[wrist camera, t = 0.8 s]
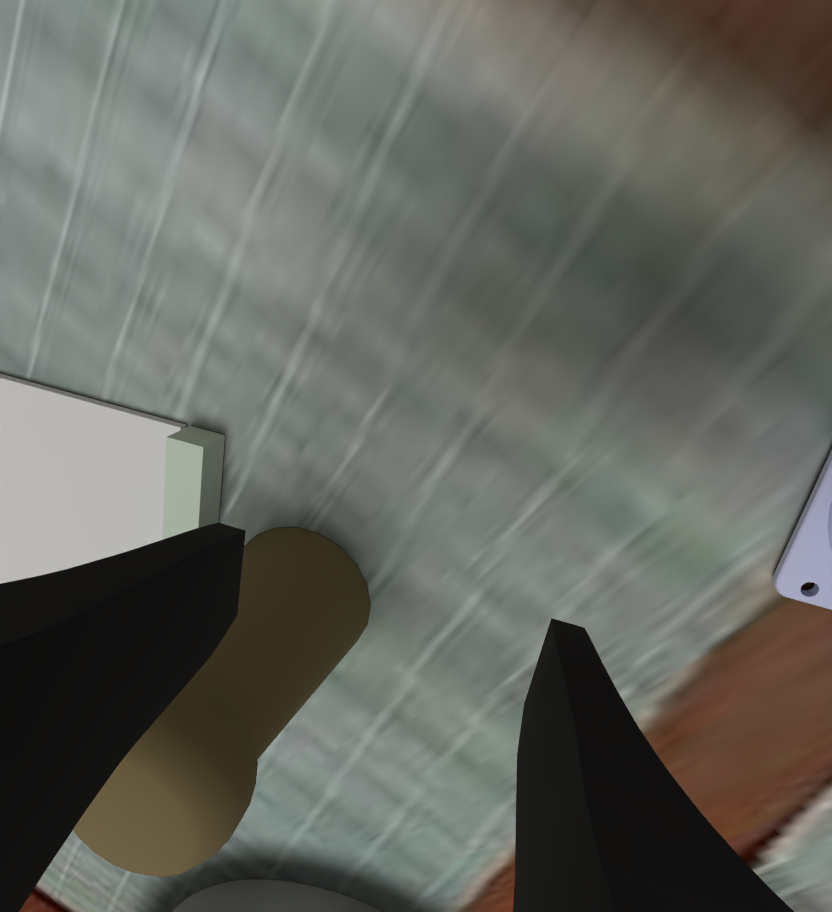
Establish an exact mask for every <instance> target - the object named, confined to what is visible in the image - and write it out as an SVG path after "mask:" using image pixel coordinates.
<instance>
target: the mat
mask: <svg viewBox="0 0 832 912" xmlns="http://www.w3.org/2000/svg"><path fill="white" fill-rule="evenodd" d="M184 428H187V425H185V424H182V423H178V422H175V421H171V420H167V419H164V418H160V417H156V416H153V415H149V414H145V413H142V412H138V411H135V410H131V409H127V408H124V407H120V406H116V405H113V404H109V403H105V402H102V401H98V400H95V399H91V398H87V397H84V396H80V395H76V394H73V393H69V392H66V391H62V390H58V389H55V388H51V387H47V386H44V385H40V384H36V383H33V382H29V381H26V380H22V379H18V378H15V377H11V376H7V375H4V374H0V584H1V583H6V582H11V581H16V580H21V579H26V578H30V577H35V576H40V575H44V574H48V573H53V572H57V571H61V570H65V569H69V568H72V567H76V566H79V565H83V564H86V563H90V562H93V561H96V560H100V559H103V558H107V557H110V556H114V555H117V554H120V553H124V552H127V551H130V550H133V549H136V548H139V547H142V546H145V545H148V544H151V543H154V542H157V541H160V540H163V517H164V490H165V464H166V437H167V436H170V435H172V434H174V433H176V432H178V431H180V430H182V429H184Z"/></svg>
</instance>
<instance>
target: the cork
mask: <svg viewBox="0 0 832 912" xmlns="http://www.w3.org/2000/svg"><path fill="white" fill-rule="evenodd" d="M369 611H370V600H369V594H368V588H367V584H366V582H365V580H364V578H363V576H362V574H361V572H360V570H359V568H358V567H357V565H356V563H355V562H354V561H353V560H352V559H351V558H350V557H349V556H348V555H347V554H346V553H345V552H344V551H343V549H342V548H341V547H340V546H338V545H337V544H335V543H333V542H332V541H330V540H328V539H327V538H325V537H323V536H322V535H320V534H318V533H315V532H311V531H307V530H304V529H300V528H297V527H294V528H274V529H271V530H268V531H266V532H263V533H261V534H258V535H256V536H255V537H254V538H253V539H252V540H251V541H249V542H248V543H247V544H246V545H245V546H244V551H243V562H242V572H241V583H240V593H239V604H238V614H237V617H236V618H235V620H234V621H233V623H232V625H231V626H230V628H229V629H228V631H227V633H226V634H225V636H224V637H223V639H222V640H221V642H220V643H219V645H218V646H217V648H216V649H215V651H214V652H213V654H212V655H211V657H210V658H209V659H208V660H207V661H206V663H205V664H204V665H203V666H202V667H201V668H200V670H199V671H198V672H197V673H196V674H195V676H194V677H193V678H192V679H191V680H190V681H189V683H188V684H187V685H186V686H185V687H184V688H183V690H182V691H181V692H180V693H179V694H178V695H177V696H176V698H175V699H174V700H173V701H172V702H171V703H170V704H169V706H168V707H167V708H166V709H165V710H164V711H163V712H162V714H161V715H160V716H159V717H158V718H157V719H156V721H155V722H154V723H153V724H152V725H151V726H150V727H149V729H148V730H147V731H146V732H145V733H144V734H143V735H142V737H141V738H140V739H139V740H138V741H137V742H136V744H135V745H134V746H133V747H132V748H131V750H130V751H129V752H128V753H127V755H126V756H125V757H124V758H123V760H122V761H121V762H120V763H119V765H118V766H117V767H116V769H115V770H114V772H113V773H112V774H111V776H110V777H109V779H108V780H107V782H106V783H105V784H104V786H103V787H102V789H101V790H100V791H99V793H98V794H97V796H96V797H95V798H94V800H93V801H92V803H91V804H90V805H89V807H88V808H87V810H86V811H85V812H84V814H83V815H82V817H81V818H80V820H79V821H78V823H77V824H76V826H75V827H74V829H73V830H74V832H75V833H76V835H77V836H78V837H79V838H80V839H81V840H82V841H83V842H84V843H85V844H86V845H87V846H88V847H89V848H90V849H91V850H92V851H93V852H94V853H96V854H97V855H99V856H101V857H102V858H104V859H105V860H107V861H108V862H110V863H111V864H113V865H115V866H118V867H120V868H123V869H125V870H128V871H130V872H133V873H138V874H145V875H151V876H158V877H165V876H172V875H179V874H182V873H184V872H186V871H188V870H190V869H191V868H193V867H195V866H197V865H199V864H200V863H202V862H204V861H205V860H207V859H209V858H210V857H212V856H214V855H215V854H216V853H217V852H218V851H219V850H220V849H221V848H222V846H223V845H224V844H225V843H226V842H227V841H228V840H229V839H230V837H231V836H232V834H233V832H234V831H235V829H236V827H237V826H238V824H239V822H240V821H241V819H242V817H243V815H244V814H245V812H246V810H247V808H248V806H249V805H250V802H251V798H252V795H253V791H254V788H255V784H256V775H257V766H258V762H257V759H258V758H259V757H260V756H261V755H262V753H263V752H264V751H265V750H266V749H267V747H268V746H269V745H270V744H271V743H272V741H273V740H274V739H275V738H276V737H277V736H278V734H279V733H280V732H281V731H282V730H283V728H284V727H285V726H286V725H287V724H288V722H289V721H290V720H291V719H292V718H293V717H294V715H295V714H296V713H297V712H298V711H299V709H300V708H301V707H302V706H303V705H304V703H305V702H306V701H307V700H308V699H309V698H310V696H311V695H312V694H313V693H314V692H315V690H316V689H317V688H318V687H319V686H320V684H321V683H322V682H323V681H324V680H325V679H326V677H327V676H328V675H329V674H330V673H331V671H332V670H333V669H334V668H335V667H336V665H337V664H338V663H339V662H340V661H341V660H342V658H343V657H344V656H345V655H346V654H347V652H348V651H349V650H350V649H351V648H352V646H353V645H354V644H355V643H356V642H357V640H358V639H359V637H360V636H361V634H362V632H363V631H364V629H365V627H366V626H367V623H368V617H369Z"/></svg>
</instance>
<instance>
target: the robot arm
mask: <svg viewBox="0 0 832 912" xmlns="http://www.w3.org/2000/svg"><path fill="white" fill-rule="evenodd" d="M244 540H245V530H241V529H238V528H234V527H231V526H227V525H224V524H220V523H215V524H210V525H207V526H203V527H200V528H196V529H193V530H190V531H187V532H184V533H181V534H178V535H175V536H172V537H169V538H166V539H163V540H160V541H157V542H154V543H151V544H148V545H145V546H142V547H139V548H136V549H133V550H130V551H127V552H124V553H120V554H117V555H114V556H110V557H107V558H103V559H100V560H96V561H93V562H90V563H86V564H83V565H79V566H76V567H72V568H69V569H65V570H61V571H57V572H53V573H48V574H44V575H40V576H35V577H30V578H26V579H21V580H16V581H11V582H6V583H1V584H0V912H19V911H20V909H21V908H22V906H23V905H24V903H25V901H26V900H27V898H28V897H29V895H30V894H31V892H32V891H33V889H34V887H35V886H36V884H37V883H38V881H39V880H40V878H41V876H42V875H43V873H44V872H45V870H46V869H47V867H48V866H49V864H50V863H51V861H52V860H53V858H54V857H55V855H56V854H57V852H58V851H59V849H60V848H61V846H62V845H63V844H64V842H65V841H66V839H67V838H68V836H69V835H70V833H71V832H72V830H73V829H74V827H75V826H76V824H77V823H78V821H79V820H80V818H81V817H82V815H83V814H84V812H85V811H86V810H87V808H88V807H89V805H90V804H91V803H92V801H93V800H94V798H95V797H96V796H97V794H98V793H99V791H100V790H101V789H102V787H103V786H104V784H105V783H106V782H107V780H108V779H109V777H110V776H111V774H112V773H113V772H114V770H115V769H116V767H117V766H118V765H119V763H120V762H121V761H122V760H123V758H124V757H125V756H126V755H127V753H128V752H129V751H130V750H131V748H132V747H133V746H134V745H135V744H136V742H137V741H138V740H139V739H140V738H141V737H142V735H143V734H144V733H145V732H146V731H147V730H148V729H149V727H150V726H151V725H152V724H153V723H154V722H155V721H156V719H157V718H158V717H159V716H160V715H161V714H162V712H163V711H164V710H165V709H166V708H167V707H168V706H169V704H170V703H171V702H172V701H173V700H174V699H175V698H176V696H177V695H178V694H179V693H180V692H181V691H182V690H183V688H184V687H185V686H186V685H187V684H188V683H189V681H190V680H191V679H192V678H193V677H194V676H195V674H196V673H197V672H198V671H199V670H200V668H201V667H202V666H203V665H204V664H205V663H206V661H207V660H208V659H209V658H210V657H211V655H212V654H213V652H214V651H215V649H216V648H217V646H218V645H219V643H220V642H221V640H222V639H223V637H224V636H225V634H226V633H227V631H228V629H229V628H230V626H231V625H232V623H233V621H234V620H235V618H236V617H237V614H238V604H239V593H240V583H241V572H242V562H243V551H244ZM807 582H814V583H815V585H814V587H813V588H812V589H809V590H801V586H802V585H803V584H805V583H807ZM773 584H774V586H775V588H776V590H777V591H778V592H779V593H780V594H781V595H783V596H785V597H788V598H791V599H795V600H798V601H802V602H806V603H809V604H813V605H816V606H820V607H824V608H827V609H831V610H832V450H831V452H830V454H829V457H828V459H827V461H826V463H825V465H824V467H823V470H822V472H821V474H820V476H819V478H818V480H817V482H816V485H815V487H814V489H813V491H812V493H811V495H810V498H809V500H808V502H807V504H806V506H805V508H804V511H803V513H802V515H801V517H800V519H799V521H798V523H797V526H796V528H795V530H794V532H793V534H792V536H791V539H790V541H789V543H788V545H787V547H786V549H785V552H784V554H783V556H782V558H781V560H780V562H779V564H778V567H777V569H776V571H775V573H774V575H773ZM513 912H794V911H793V910H792V909H791V908H790V907H789V906H787V905H786V904H785V903H784V902H783V901H782V900H781V899H780V898H779V897H778V896H777V895H776V894H775V893H774V892H773V891H772V890H771V889H770V888H769V887H768V886H767V885H766V884H765V883H764V882H763V881H762V880H761V879H760V878H759V877H758V876H757V875H756V874H755V872H754V871H753V870H752V869H751V868H750V867H749V866H748V865H747V864H746V863H745V862H744V861H743V860H742V859H741V858H740V857H739V855H738V854H737V853H736V852H735V851H734V850H733V849H732V848H731V847H730V845H729V844H728V843H727V842H726V841H725V840H724V839H723V838H722V837H721V835H720V834H719V833H718V832H717V831H716V830H715V829H714V828H713V826H712V825H711V824H710V823H709V822H708V821H707V819H706V818H705V817H704V816H703V815H702V813H701V812H700V811H699V810H698V809H697V807H696V806H695V805H694V804H693V802H692V801H691V800H690V799H689V797H688V796H687V795H686V793H685V792H684V791H683V790H682V788H681V787H680V786H679V784H678V783H677V782H676V781H675V779H674V778H673V777H672V775H671V774H670V773H669V771H668V770H667V769H666V767H665V766H664V764H663V763H662V762H661V760H660V759H659V757H658V756H657V755H656V753H655V752H654V750H653V749H652V747H651V746H650V744H649V743H648V741H647V740H646V738H645V737H644V735H643V733H642V732H641V730H640V729H639V727H638V726H637V724H636V722H635V721H634V719H633V718H632V716H631V714H630V712H629V711H628V709H627V707H626V705H625V704H624V702H623V700H622V698H621V697H620V695H619V693H618V691H617V690H616V688H615V686H614V684H613V682H612V680H611V679H610V677H609V675H608V673H607V671H606V669H605V667H604V665H603V663H602V661H601V659H600V657H599V655H598V653H597V651H596V649H595V647H594V645H593V643H592V641H591V639H590V637H589V635H588V633H587V632H586V630H585V628H583V627H580V626H576V625H573V624H569V623H566V622H562V621H559V620H555V619H552V618H551V622H550V625H549V628H548V631H547V634H546V637H545V640H544V644H543V647H542V650H541V653H540V656H539V659H538V662H537V666H536V669H535V672H534V675H533V678H532V681H531V684H530V688H529V691H528V694H527V697H526V700H525V703H524V710H523V717H522V724H521V731H520V738H519V746H518V753H517V794H516V854H515V888H514V905H513Z"/></svg>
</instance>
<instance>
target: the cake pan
mask: <svg viewBox="0 0 832 912" xmlns="http://www.w3.org/2000/svg"><path fill="white" fill-rule="evenodd" d="M172 912H382V911H380V910H378V909H376V908H374V907H372V906H370V905H368V904H365V903H363V902H360V901H358V900H356V899H353V898H351V897H348V896H345V895H342V894H339V893H337V892H333V891H330V890H326V889H323V888H319V887H315V886H311V885H306V884H301V883H296V882H289V881H282V880H267V879H246V880H236V881H230V882H224V883H220V884H217V885H213V886H210V887H208V888H205V889H203V890H200V891H198V892H196V893H194V894H193V895H191V896H189V897H188V898H186V899H185V900H184V901H183V902H181V903H180V904H179V905H178V906H177V907H176V908H175V909H174V910H173V911H172Z"/></svg>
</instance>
